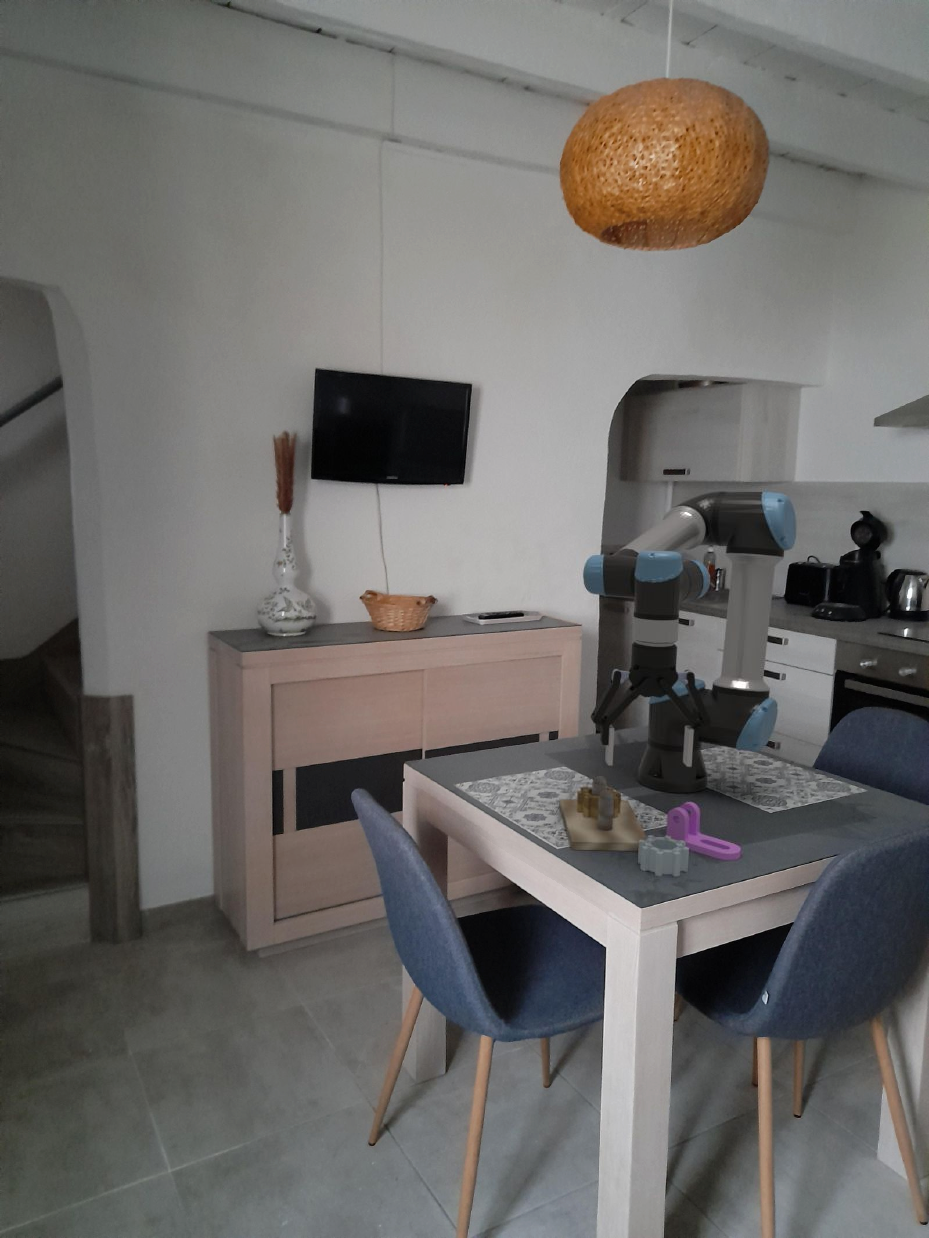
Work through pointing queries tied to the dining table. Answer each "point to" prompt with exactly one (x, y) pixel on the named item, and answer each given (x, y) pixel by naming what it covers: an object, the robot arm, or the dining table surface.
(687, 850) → the gear
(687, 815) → the bracket
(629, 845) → the gear board
